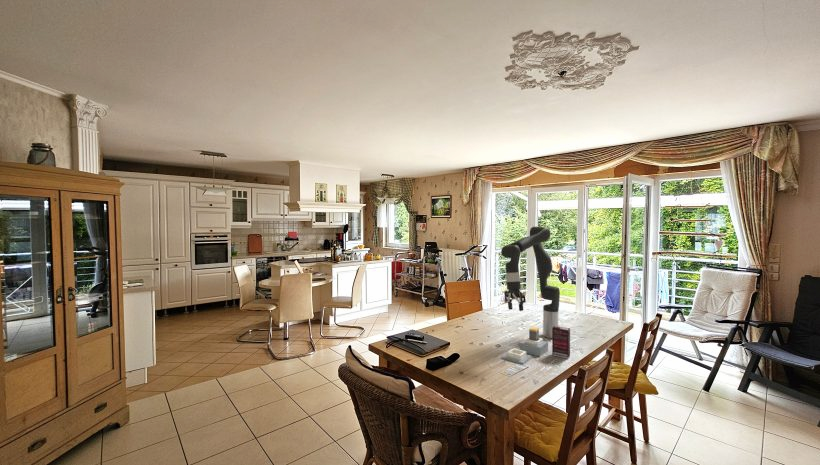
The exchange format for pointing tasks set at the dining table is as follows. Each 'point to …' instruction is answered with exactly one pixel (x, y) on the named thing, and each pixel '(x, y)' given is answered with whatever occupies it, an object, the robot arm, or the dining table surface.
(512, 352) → the plate
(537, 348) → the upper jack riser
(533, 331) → the plug
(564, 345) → the supplement box
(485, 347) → the dining table surface
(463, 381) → the dining table surface
